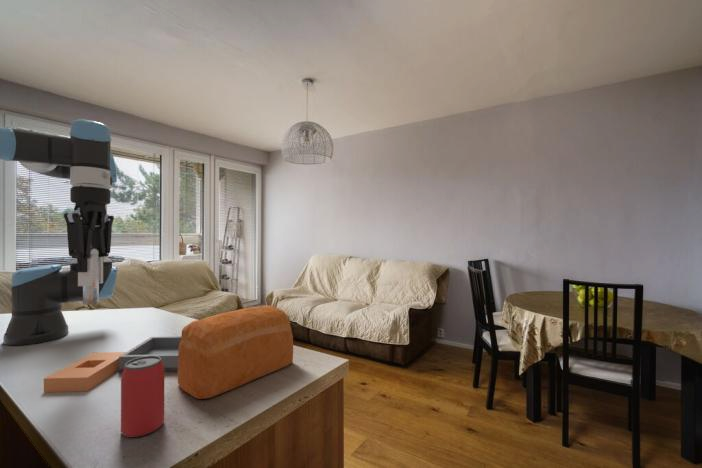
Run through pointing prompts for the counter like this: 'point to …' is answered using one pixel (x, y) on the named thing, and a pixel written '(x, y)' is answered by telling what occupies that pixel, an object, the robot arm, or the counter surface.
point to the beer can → (142, 396)
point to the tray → (155, 352)
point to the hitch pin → (93, 291)
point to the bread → (233, 349)
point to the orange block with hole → (84, 373)
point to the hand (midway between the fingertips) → (90, 284)
